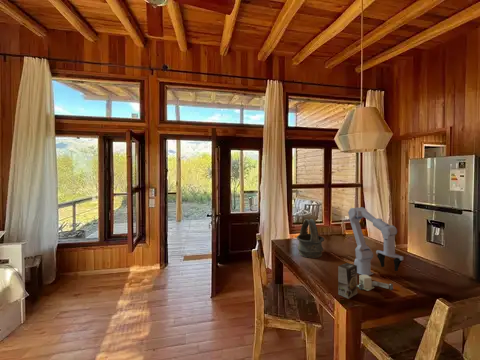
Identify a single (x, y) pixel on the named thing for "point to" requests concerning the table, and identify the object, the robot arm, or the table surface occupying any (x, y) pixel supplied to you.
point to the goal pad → (367, 288)
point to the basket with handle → (310, 240)
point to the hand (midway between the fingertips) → (389, 268)
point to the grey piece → (380, 284)
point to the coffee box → (347, 280)
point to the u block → (365, 281)
